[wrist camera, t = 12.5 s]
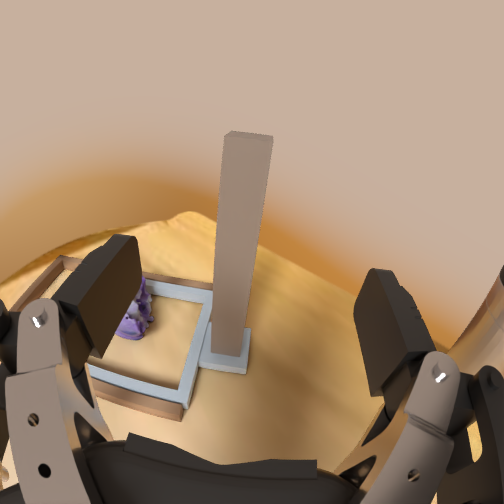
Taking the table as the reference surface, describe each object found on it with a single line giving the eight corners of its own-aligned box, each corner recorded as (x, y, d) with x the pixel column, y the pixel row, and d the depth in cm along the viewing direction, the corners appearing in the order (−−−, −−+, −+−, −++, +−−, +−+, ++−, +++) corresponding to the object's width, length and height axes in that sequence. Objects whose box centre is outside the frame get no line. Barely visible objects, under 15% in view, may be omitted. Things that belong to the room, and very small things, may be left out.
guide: (-4, 343, 22) (-10, 335, 21) (62, 263, 39) (60, 254, 38) (180, 421, 22) (179, 415, 21) (214, 293, 39) (215, 284, 38)
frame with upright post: (51, 363, 23) (-23, 162, 11) (108, 279, 37) (91, 121, 25) (240, 418, 23) (294, 168, 11) (253, 305, 37) (282, 129, 25)
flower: (54, 313, 22) (123, 260, 25) (72, 291, 30) (128, 249, 33) (108, 376, 25) (175, 331, 28) (113, 343, 33) (167, 305, 36)
